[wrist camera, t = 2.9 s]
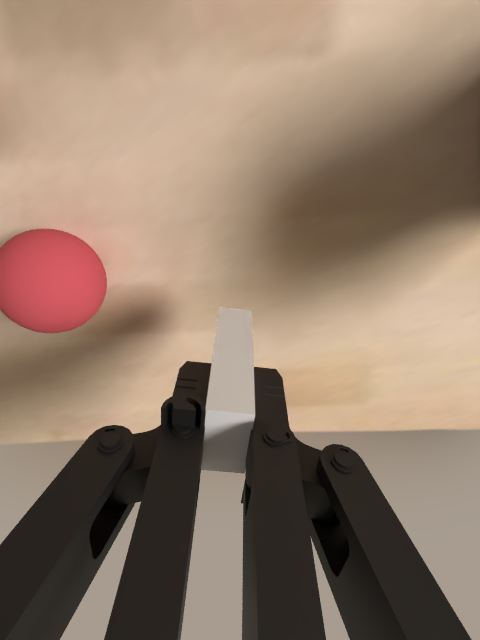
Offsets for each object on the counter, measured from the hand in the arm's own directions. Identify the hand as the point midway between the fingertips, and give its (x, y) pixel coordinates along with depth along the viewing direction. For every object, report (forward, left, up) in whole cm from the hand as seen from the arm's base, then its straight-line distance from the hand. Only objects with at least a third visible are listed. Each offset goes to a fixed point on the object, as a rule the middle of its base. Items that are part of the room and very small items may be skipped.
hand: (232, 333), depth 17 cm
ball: (-10, 0, -3) cm, 10 cm away
